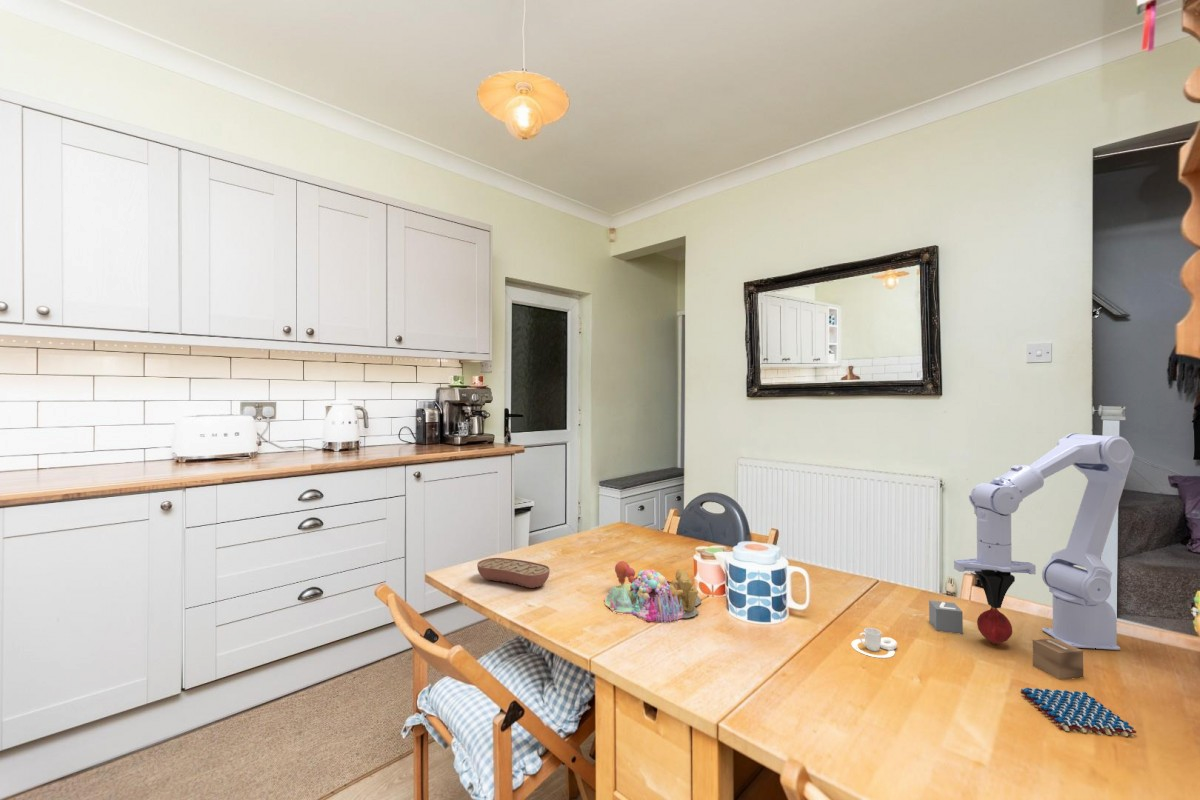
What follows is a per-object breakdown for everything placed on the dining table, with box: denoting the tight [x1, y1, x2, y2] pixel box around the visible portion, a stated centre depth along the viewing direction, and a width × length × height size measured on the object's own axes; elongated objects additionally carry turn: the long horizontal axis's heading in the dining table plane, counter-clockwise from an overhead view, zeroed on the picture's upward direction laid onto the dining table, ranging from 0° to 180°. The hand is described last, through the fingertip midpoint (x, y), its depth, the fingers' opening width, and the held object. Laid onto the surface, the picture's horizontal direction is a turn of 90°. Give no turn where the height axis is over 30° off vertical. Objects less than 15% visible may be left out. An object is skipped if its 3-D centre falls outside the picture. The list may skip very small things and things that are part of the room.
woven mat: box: [1020, 686, 1137, 738], centre depth 82 cm, size 10×11×2 cm
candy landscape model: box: [603, 560, 702, 624], centre depth 128 cm, size 25×24×9 cm
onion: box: [976, 606, 1013, 645], centre depth 105 cm, size 6×6×8 cm
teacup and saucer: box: [850, 627, 898, 659], centre depth 104 cm, size 9×8×4 cm
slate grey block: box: [928, 600, 964, 635], centre depth 113 cm, size 5×5×5 cm
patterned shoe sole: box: [477, 557, 551, 589], centre depth 143 cm, size 23×10×5 cm, turn 64°
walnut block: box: [1032, 637, 1084, 681], centre depth 95 cm, size 5×5×5 cm
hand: (994, 606), depth 105 cm, fingers closed, pressing on onion
